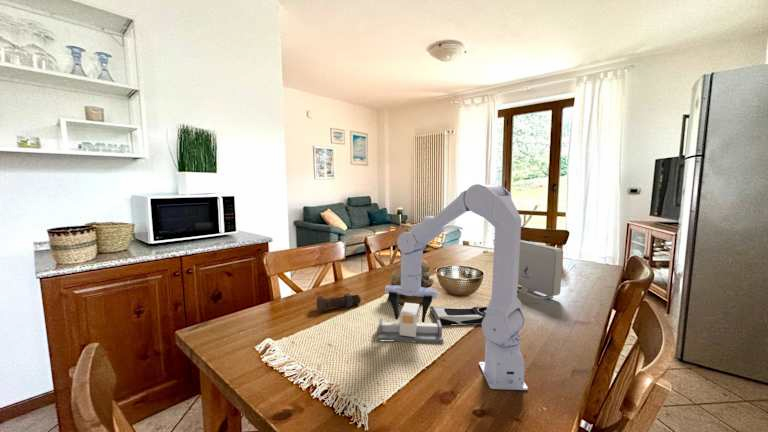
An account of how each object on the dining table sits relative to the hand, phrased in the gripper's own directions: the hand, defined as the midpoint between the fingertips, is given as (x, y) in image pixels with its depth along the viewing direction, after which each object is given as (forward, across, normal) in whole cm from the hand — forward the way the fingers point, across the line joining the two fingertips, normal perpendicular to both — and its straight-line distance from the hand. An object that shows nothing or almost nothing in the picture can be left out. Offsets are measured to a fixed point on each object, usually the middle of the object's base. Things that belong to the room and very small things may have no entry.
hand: (410, 319), depth 90 cm
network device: (+5, +42, +50) cm, 65 cm away
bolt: (+5, -27, +12) cm, 30 cm away
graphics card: (+5, +18, +15) cm, 24 cm away
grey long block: (+4, 0, 0) cm, 4 cm away
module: (+3, 0, 0) cm, 3 cm away
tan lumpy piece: (+5, -4, +27) cm, 28 cm away
